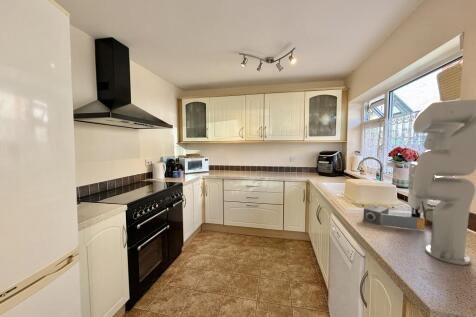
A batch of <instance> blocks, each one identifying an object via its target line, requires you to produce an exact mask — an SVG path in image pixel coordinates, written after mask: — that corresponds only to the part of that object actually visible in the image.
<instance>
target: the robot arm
mask: <svg viewBox="0 0 476 317" xmlns="http://www.w3.org/2000/svg"><path fill="white" fill-rule="evenodd" d="M461 125H462V126H461ZM460 126H461V127H460ZM412 127H413V131H414V132H415V133H416V134H426V136H425V139H424V142H423V147H424V148H425V149H426V150H424V151H423V152H422V153H420V155H419V156H418V158H417V162H410V163H409V166H408V180H407V181H408V184H407V189H408V196H407V204H408V206H409V207H410V212H411V216H410V217H417V218H421V215H422V214H423V209H424V210H427V205H428V200H430V201H437V202H438V201H440V202H438V203H437V204H436V207H435V209H434V212H433V223H432V226H431V235H430V236H431V239H430V244H428V245H426V246H425V247H424V250H425V253H427V254H428V255H429V256H431V257H432V258H435V259H437V260H440V261H443V262H445V263H449V264H454V265H461V266H462V265H463V266H465V265H466V266H467V265H469V264H471V258H470V257H469V256H468V255H466V244H467V233H468V225H469V215H470V209H471V206H472V202H473V200H474V197H475V194H476V185H475V184H474V183H473V181H471V180H470V179H468V178H465V177H466V176H469V175H473V173H474V172H475V171H476V99H460V100H458V99H457V100H443V101H434V102H430V103H429V104H428V105H426V106H425V107H424V108H423V109H422V110H420V112H419V113H417V116H416V117H415V118H414V120H413V124H412ZM462 176H463V177H462ZM464 176H465V177H464Z"/></svg>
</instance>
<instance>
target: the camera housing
mask: <svg viewBox="0 0 476 317" xmlns="http://www.w3.org/2000/svg"><path fill="white" fill-rule="evenodd" d="M389 209H390V208H389V207H385V206H380V205H376V204H371V205H369V206H367V207H365V208H363V215H362V216H363V220H362V221H363V222H367V223H370V224H373V225H377V226H381V225H380V219H381V213H383V214H389Z"/></svg>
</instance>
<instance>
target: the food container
mask: <svg viewBox="0 0 476 317" xmlns="http://www.w3.org/2000/svg"><path fill="white" fill-rule="evenodd" d="M436 205H437V204H436ZM436 205H435V204H427V210H424V209H423V213H422V216H423V217H422V218H425V225H424V227H432V223H433V212H434V209H435V207H436Z"/></svg>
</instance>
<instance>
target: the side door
mask: <svg viewBox="0 0 476 317" xmlns="http://www.w3.org/2000/svg"><path fill="white" fill-rule="evenodd" d="M379 226H381V227H382V226H384V227H385V226H386V227H392V228H393V227H394V228H399V229H400V228H401V229H402V228H403V229H409V230H418V231H425V218H423V217H420V218H417V217H411V216H407V215H396V214H389V213H388V214H383V213H381V219H380V225H379Z"/></svg>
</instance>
